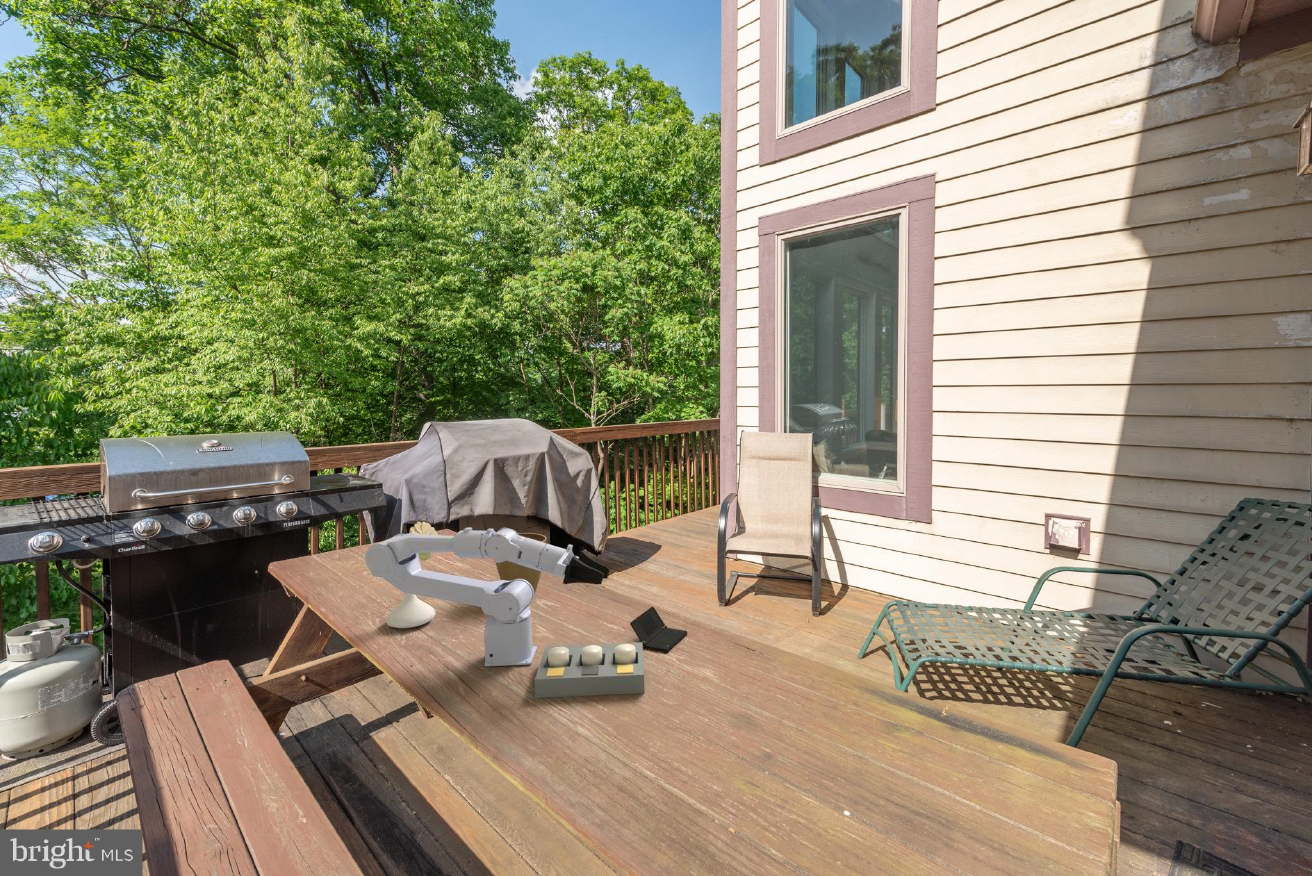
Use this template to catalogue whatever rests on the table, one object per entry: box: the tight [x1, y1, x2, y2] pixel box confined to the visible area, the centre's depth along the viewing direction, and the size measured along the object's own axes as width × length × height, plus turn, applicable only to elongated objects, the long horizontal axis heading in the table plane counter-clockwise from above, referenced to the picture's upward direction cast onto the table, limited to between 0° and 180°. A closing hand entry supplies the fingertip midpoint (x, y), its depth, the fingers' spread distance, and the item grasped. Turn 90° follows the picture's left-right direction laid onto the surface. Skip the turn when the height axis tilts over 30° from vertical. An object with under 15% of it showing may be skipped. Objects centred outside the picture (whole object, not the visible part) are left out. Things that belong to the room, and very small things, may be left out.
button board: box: [534, 641, 646, 699], centre depth 111 cm, size 20×14×4 cm
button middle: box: [581, 645, 602, 666], centre depth 111 cm, size 4×4×3 cm
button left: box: [548, 647, 569, 667], centre depth 111 cm, size 4×4×3 cm
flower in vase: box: [385, 521, 439, 629], centre depth 140 cm, size 13×11×25 cm
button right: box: [615, 644, 636, 665], centre depth 111 cm, size 4×4×3 cm
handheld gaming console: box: [629, 606, 688, 654], centre depth 128 cm, size 12×7×10 cm
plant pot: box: [495, 532, 547, 595], centre depth 159 cm, size 15×15×16 cm
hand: (605, 576), depth 117 cm, fingers open, 7 cm apart
